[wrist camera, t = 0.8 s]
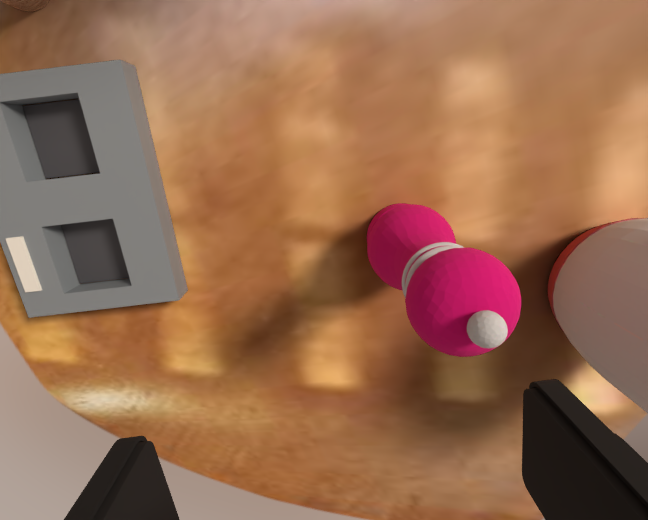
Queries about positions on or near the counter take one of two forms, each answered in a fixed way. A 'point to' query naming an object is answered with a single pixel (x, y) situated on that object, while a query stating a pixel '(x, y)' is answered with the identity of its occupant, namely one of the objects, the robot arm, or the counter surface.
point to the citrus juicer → (607, 302)
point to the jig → (83, 192)
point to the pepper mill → (443, 281)
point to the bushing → (26, 4)
